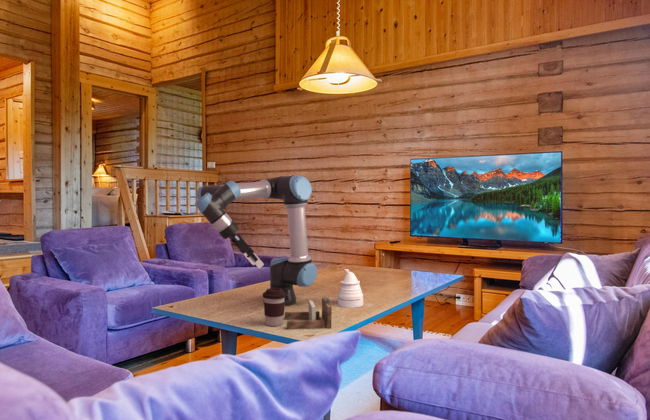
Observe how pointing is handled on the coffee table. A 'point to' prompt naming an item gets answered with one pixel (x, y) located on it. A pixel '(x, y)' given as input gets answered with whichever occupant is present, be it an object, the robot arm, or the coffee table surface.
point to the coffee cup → (274, 306)
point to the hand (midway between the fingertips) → (258, 265)
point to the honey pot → (350, 291)
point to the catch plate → (312, 310)
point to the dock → (305, 315)
